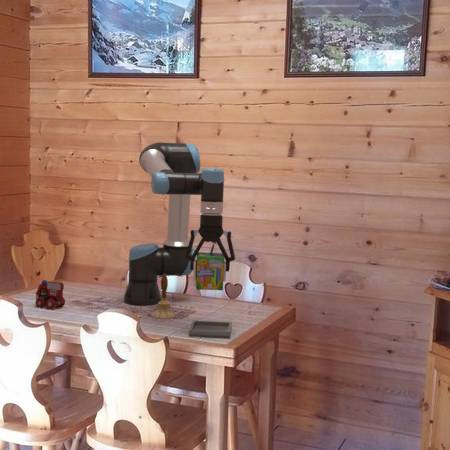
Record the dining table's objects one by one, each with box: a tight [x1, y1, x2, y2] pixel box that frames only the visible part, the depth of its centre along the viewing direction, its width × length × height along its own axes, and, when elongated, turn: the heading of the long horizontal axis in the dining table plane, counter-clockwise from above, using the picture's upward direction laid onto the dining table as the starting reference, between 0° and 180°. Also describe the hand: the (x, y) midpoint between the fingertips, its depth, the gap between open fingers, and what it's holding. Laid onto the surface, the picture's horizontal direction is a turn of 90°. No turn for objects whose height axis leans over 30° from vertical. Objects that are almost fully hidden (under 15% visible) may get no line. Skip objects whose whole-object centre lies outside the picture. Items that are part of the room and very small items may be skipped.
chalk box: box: [195, 244, 225, 291], centre depth 231 cm, size 9×9×15 cm
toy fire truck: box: [35, 279, 66, 310], centre depth 263 cm, size 7×12×10 cm, turn 64°
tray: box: [188, 320, 233, 339], centre depth 233 cm, size 14×14×2 cm
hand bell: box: [152, 274, 175, 320], centre depth 253 cm, size 8×8×16 cm
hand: (209, 280), depth 232 cm, fingers closed on chalk box, 9 cm apart
